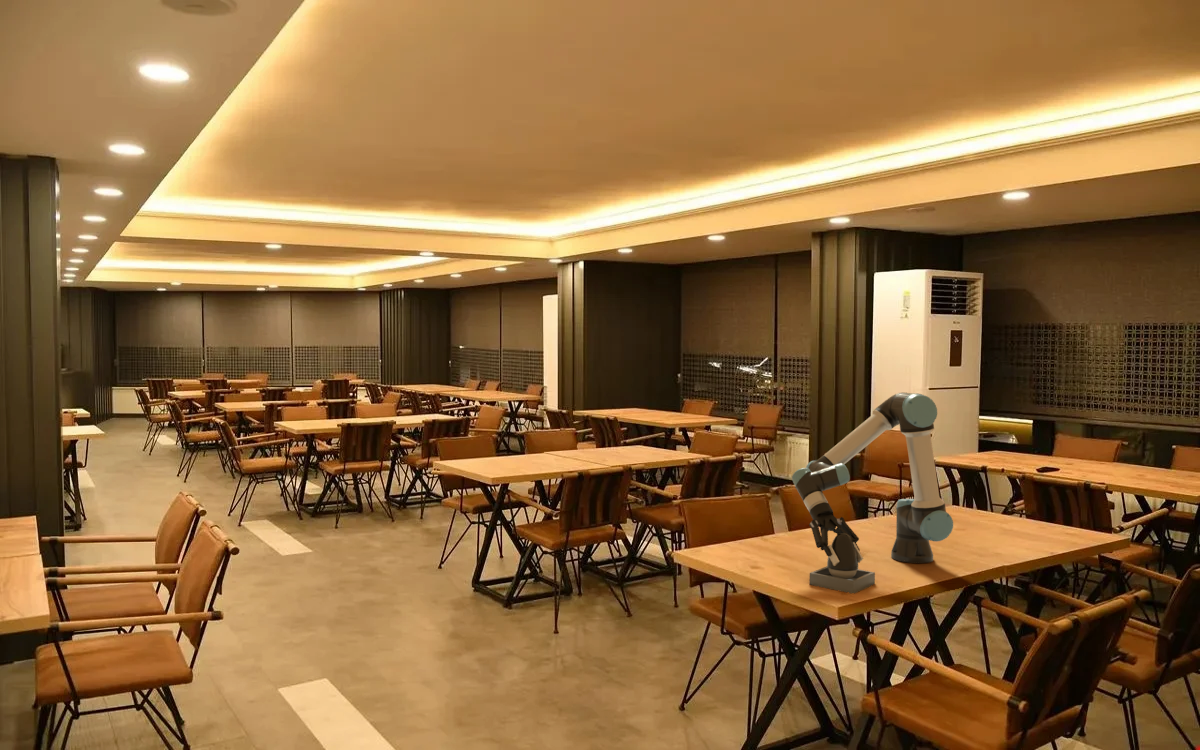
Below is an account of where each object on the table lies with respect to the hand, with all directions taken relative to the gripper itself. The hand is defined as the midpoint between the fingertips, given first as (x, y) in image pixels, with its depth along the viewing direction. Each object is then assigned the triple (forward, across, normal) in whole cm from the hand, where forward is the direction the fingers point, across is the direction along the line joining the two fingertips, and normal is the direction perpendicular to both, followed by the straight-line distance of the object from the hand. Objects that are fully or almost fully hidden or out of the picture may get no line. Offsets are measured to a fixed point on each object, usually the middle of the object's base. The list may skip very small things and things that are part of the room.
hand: (848, 562), depth 287 cm
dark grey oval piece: (+2, 0, -7) cm, 7 cm away
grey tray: (+4, 0, -8) cm, 9 cm away
